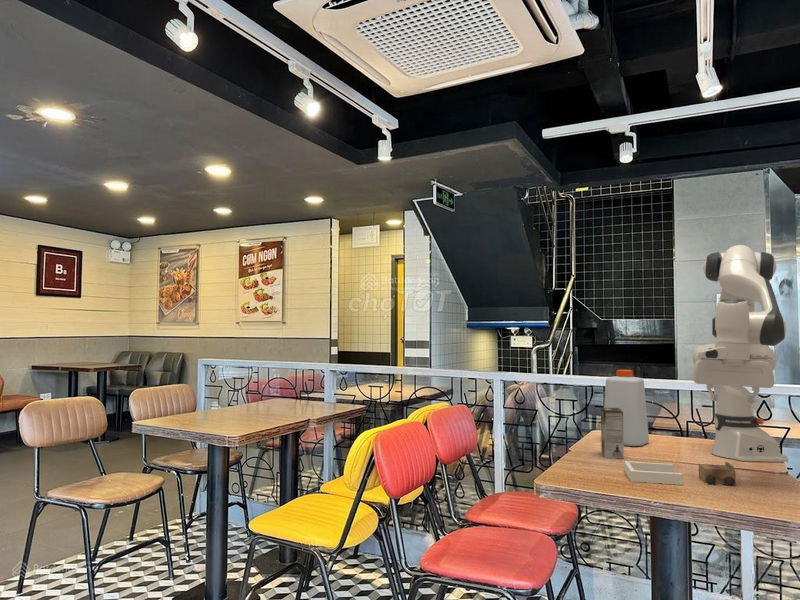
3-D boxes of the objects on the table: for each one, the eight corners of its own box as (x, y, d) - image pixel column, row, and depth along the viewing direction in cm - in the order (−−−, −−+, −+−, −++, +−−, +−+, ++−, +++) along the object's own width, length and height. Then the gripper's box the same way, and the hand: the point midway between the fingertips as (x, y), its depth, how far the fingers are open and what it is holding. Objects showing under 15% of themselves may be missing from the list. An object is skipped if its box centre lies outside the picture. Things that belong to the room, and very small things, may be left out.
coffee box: (600, 452, 202) (600, 407, 203) (619, 453, 201) (619, 407, 202) (604, 458, 193) (604, 410, 194) (624, 459, 192) (624, 411, 193)
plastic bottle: (612, 437, 231) (611, 368, 232) (651, 442, 221) (650, 370, 223) (598, 443, 219) (598, 370, 221) (639, 448, 210) (638, 372, 211)
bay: (672, 473, 173) (672, 463, 173) (683, 485, 160) (682, 474, 160) (624, 470, 176) (624, 461, 176) (630, 481, 163) (630, 471, 164)
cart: (728, 480, 167) (727, 461, 167) (736, 486, 159) (736, 467, 160) (698, 478, 168) (697, 459, 169) (705, 484, 161) (704, 465, 162)
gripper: (770, 355, 165) (771, 403, 163) (692, 352, 171) (691, 398, 170) (777, 355, 159) (777, 405, 158) (695, 352, 165) (695, 400, 164)
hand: (732, 401), depth 164 cm, fingers open, 8 cm apart
